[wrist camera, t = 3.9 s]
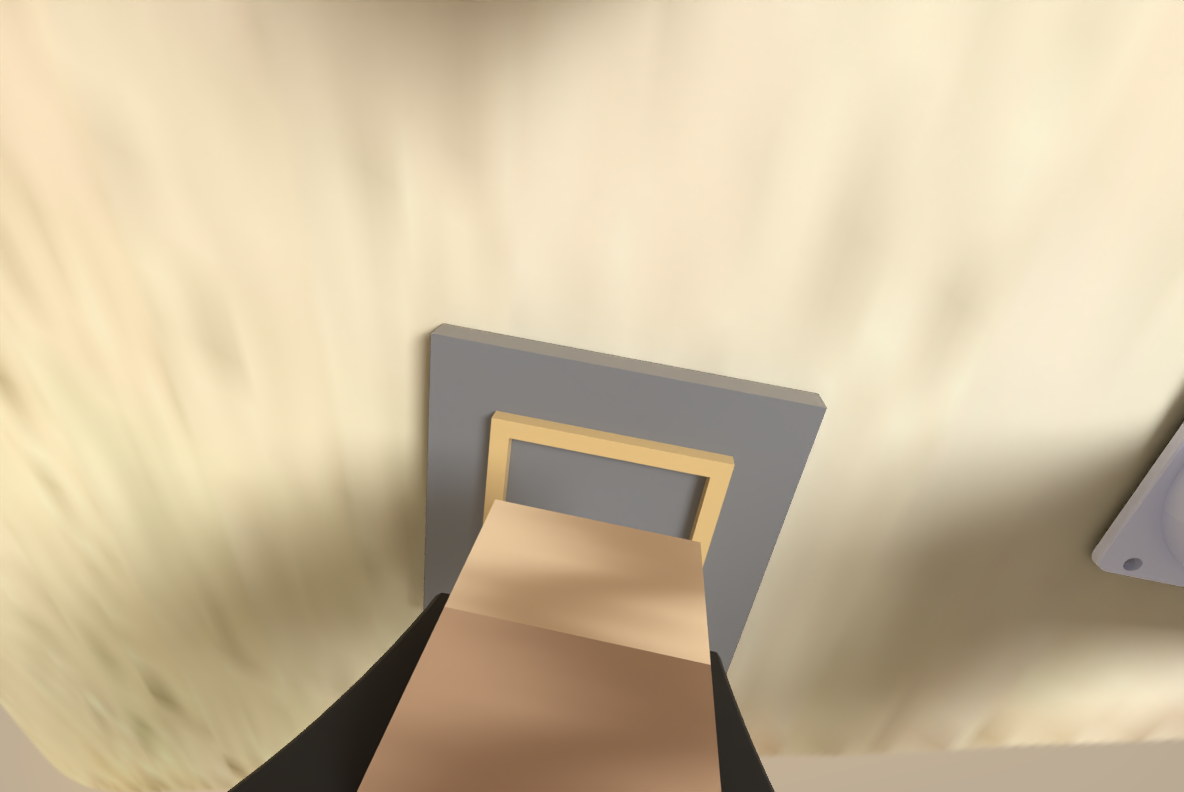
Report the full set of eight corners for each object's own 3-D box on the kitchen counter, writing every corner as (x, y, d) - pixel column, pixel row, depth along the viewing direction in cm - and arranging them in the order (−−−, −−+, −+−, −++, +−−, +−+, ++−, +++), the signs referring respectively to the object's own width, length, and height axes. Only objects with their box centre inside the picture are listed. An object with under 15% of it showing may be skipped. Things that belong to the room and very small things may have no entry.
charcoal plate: (818, 393, 17) (831, 415, 16) (721, 659, 22) (724, 692, 21) (443, 323, 18) (424, 338, 16) (432, 598, 23) (418, 627, 22)
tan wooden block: (700, 542, 12) (729, 893, 6) (656, 682, 14) (648, 1044, 8) (495, 499, 12) (350, 804, 6) (480, 643, 14) (358, 973, 8)
